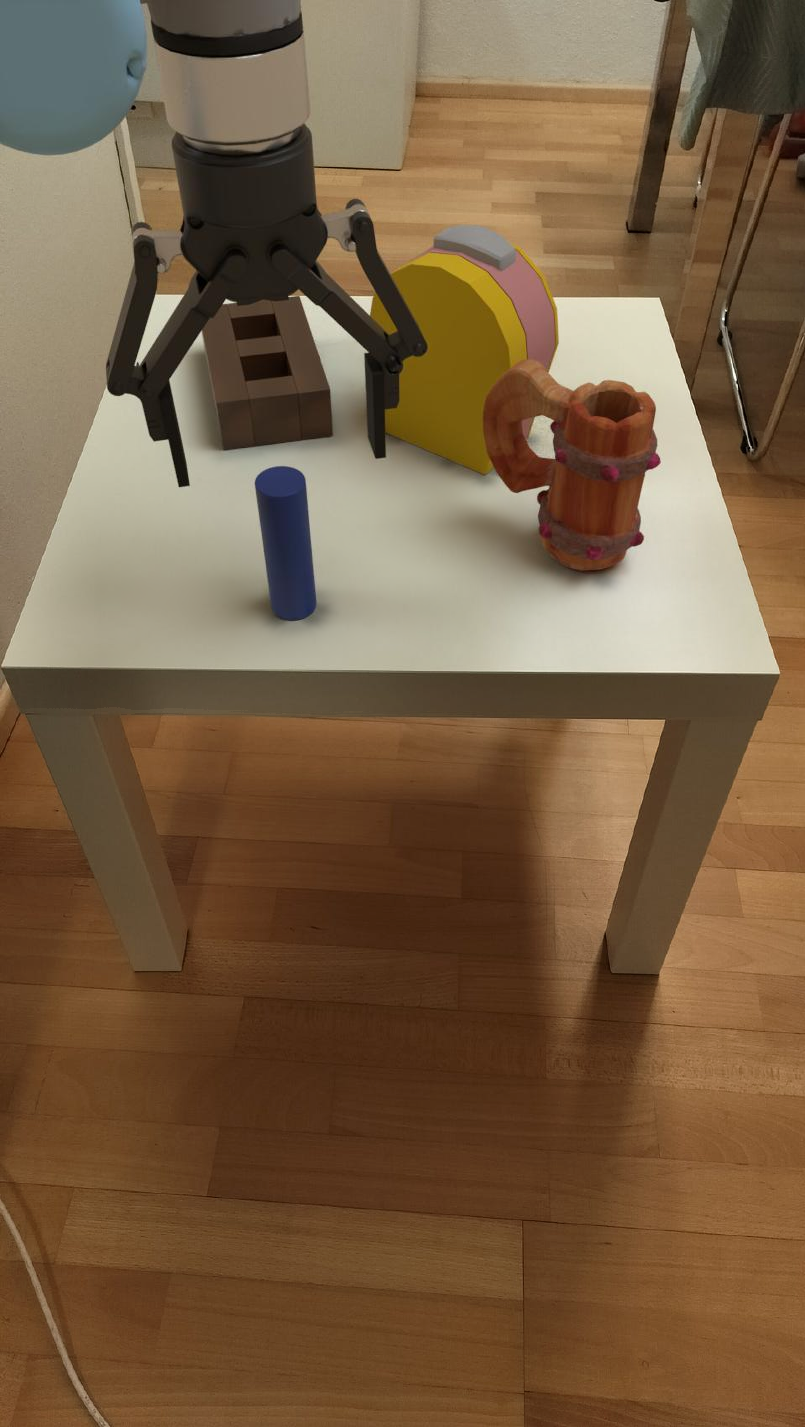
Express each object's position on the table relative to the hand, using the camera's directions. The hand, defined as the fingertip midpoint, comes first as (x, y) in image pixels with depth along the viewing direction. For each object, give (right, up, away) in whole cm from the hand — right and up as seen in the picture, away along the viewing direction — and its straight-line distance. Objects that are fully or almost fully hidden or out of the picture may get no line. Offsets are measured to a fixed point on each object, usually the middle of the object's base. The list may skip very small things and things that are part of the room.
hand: (281, 461), depth 69 cm
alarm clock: (+14, +9, +26) cm, 31 cm away
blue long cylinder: (0, -9, +10) cm, 14 cm away
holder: (-5, +15, +30) cm, 34 cm away
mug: (+21, -3, +16) cm, 27 cm away
